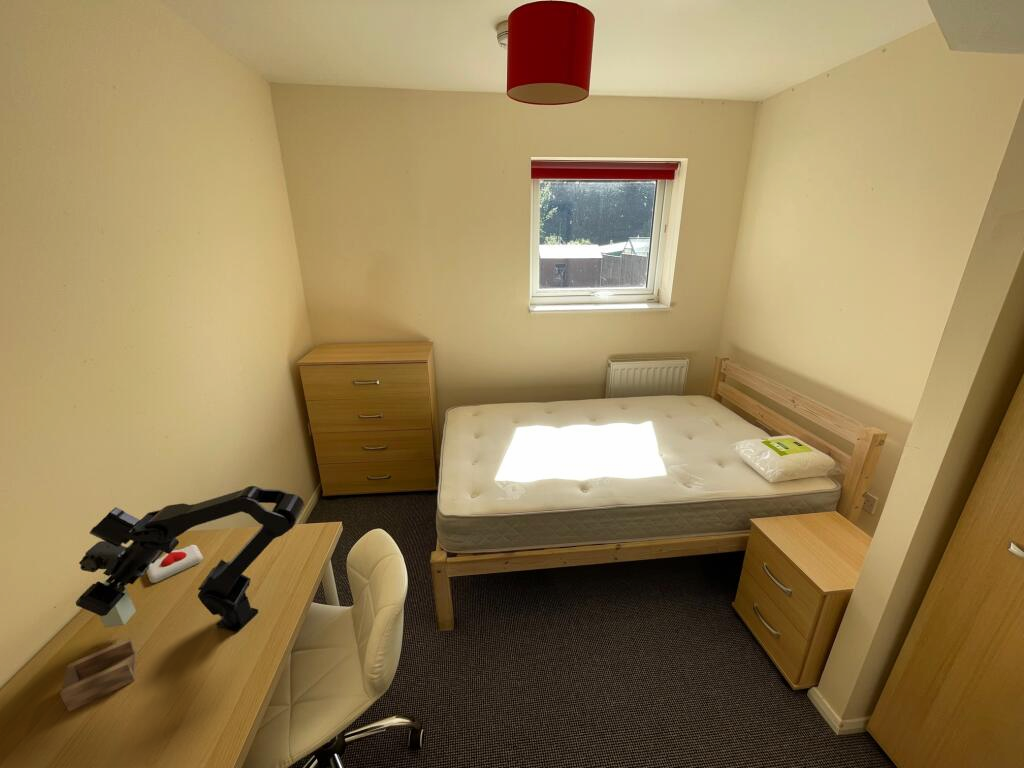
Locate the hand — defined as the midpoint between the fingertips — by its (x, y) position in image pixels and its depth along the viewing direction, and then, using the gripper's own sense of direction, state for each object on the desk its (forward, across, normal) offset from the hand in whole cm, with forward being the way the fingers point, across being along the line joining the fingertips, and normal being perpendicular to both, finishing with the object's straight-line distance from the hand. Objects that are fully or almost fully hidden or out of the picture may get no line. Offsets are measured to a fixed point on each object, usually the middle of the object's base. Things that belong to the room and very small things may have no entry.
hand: (104, 597), depth 97 cm
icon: (+9, -23, +8) cm, 26 cm away
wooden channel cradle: (+4, +12, +11) cm, 17 cm away
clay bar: (+4, 0, +6) cm, 7 cm away
